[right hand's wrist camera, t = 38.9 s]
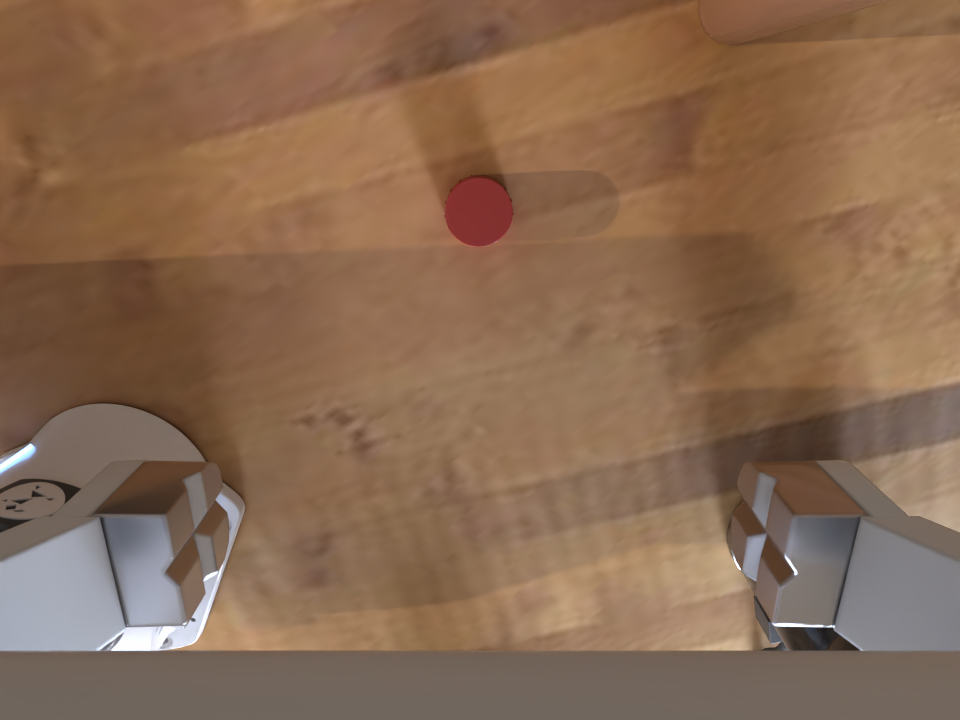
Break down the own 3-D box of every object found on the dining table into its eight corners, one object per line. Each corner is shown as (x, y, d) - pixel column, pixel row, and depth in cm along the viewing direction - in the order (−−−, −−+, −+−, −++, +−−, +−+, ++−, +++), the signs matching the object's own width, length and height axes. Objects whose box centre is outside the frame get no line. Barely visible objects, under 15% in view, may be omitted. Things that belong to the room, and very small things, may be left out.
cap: (438, 182, 43) (436, 185, 41) (504, 167, 42) (505, 169, 41) (453, 248, 44) (452, 253, 43) (518, 234, 44) (519, 239, 42)
